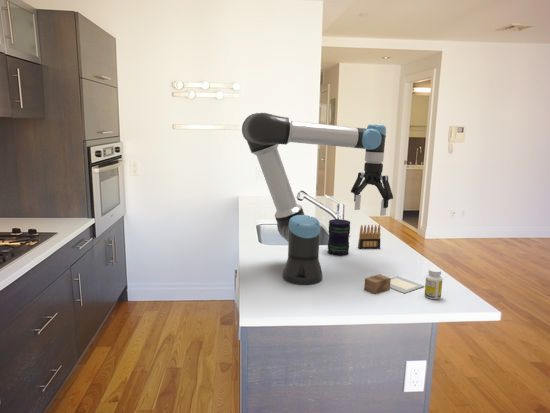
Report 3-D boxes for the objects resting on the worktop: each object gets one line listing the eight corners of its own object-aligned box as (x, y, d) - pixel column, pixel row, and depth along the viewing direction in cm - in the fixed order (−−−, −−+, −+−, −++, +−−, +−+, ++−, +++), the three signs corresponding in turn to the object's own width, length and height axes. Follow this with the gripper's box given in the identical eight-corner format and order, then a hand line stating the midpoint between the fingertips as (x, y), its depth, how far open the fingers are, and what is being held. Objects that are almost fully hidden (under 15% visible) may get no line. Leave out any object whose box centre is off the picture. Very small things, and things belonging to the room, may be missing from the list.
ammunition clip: (359, 249, 199) (360, 225, 197) (357, 248, 201) (359, 224, 199) (380, 248, 201) (382, 224, 198) (378, 247, 202) (380, 223, 200)
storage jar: (348, 256, 187) (350, 224, 184) (326, 255, 189) (328, 223, 186) (349, 250, 197) (350, 219, 194) (328, 249, 198) (329, 218, 196)
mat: (404, 293, 146) (404, 292, 146) (377, 283, 156) (377, 281, 155) (424, 286, 153) (424, 285, 153) (397, 277, 163) (397, 275, 162)
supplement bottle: (436, 293, 147) (439, 267, 145) (443, 299, 142) (446, 272, 140) (421, 293, 147) (424, 267, 145) (427, 299, 141) (430, 272, 139)
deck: (375, 294, 145) (375, 282, 144) (364, 290, 149) (364, 278, 148) (389, 289, 150) (390, 278, 149) (378, 285, 154) (379, 274, 153)
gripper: (405, 164, 165) (400, 217, 169) (356, 159, 184) (352, 206, 188) (394, 165, 160) (389, 218, 164) (345, 160, 179) (341, 208, 183)
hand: (369, 212), depth 176 cm, fingers open, 13 cm apart
